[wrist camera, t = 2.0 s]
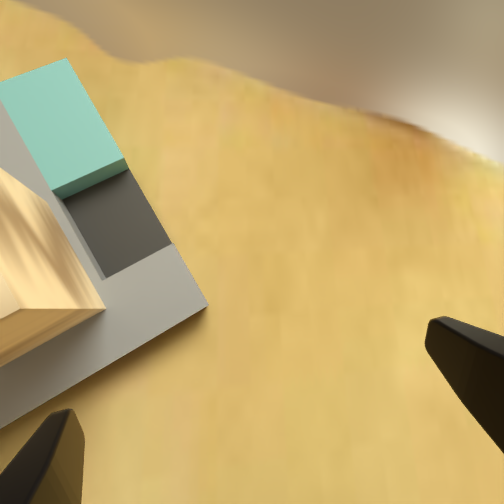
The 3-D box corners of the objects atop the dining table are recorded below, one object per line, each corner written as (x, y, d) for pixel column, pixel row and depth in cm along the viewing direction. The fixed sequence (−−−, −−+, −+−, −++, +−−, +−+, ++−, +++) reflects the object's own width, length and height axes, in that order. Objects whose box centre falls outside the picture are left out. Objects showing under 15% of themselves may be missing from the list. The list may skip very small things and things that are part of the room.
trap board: (207, 305, 22) (209, 305, 20) (-53, 459, 19) (-81, 476, 17) (77, 78, 23) (66, 57, 21) (-195, 183, 20) (-238, 169, 18)
